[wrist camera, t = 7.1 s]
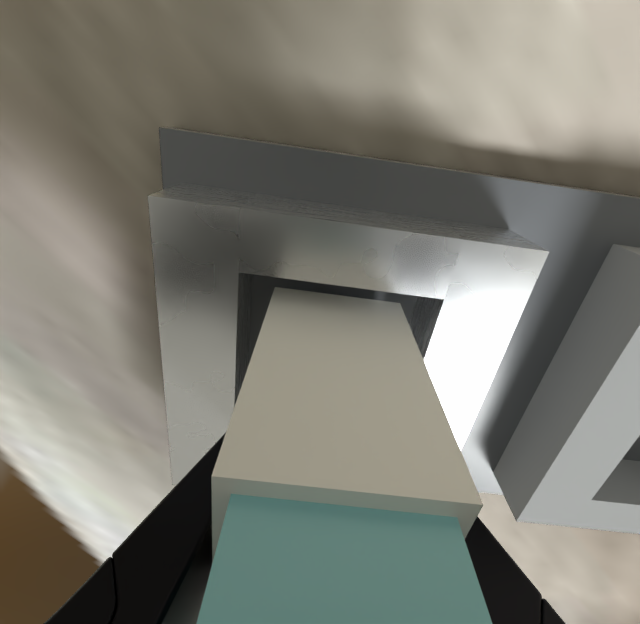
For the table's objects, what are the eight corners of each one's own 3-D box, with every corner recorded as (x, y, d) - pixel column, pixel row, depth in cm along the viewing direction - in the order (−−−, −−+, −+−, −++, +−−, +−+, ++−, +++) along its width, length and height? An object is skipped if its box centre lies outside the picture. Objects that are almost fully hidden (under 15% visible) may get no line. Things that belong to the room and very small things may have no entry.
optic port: (509, 229, 10) (549, 251, 8) (419, 464, 14) (433, 512, 12) (181, 182, 9) (147, 195, 8) (192, 439, 14) (172, 484, 12)
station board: (922, 238, 11) (965, 246, 10) (680, 498, 16) (696, 515, 15) (171, 127, 10) (158, 127, 9) (187, 444, 15) (180, 460, 14)
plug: (399, 303, 10) (580, 741, 3) (366, 433, 12) (418, 857, 5) (274, 286, 10) (133, 707, 3) (264, 421, 12) (171, 841, 5)
